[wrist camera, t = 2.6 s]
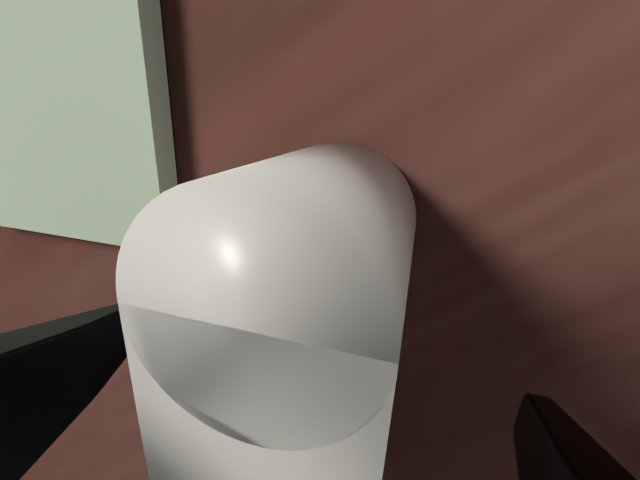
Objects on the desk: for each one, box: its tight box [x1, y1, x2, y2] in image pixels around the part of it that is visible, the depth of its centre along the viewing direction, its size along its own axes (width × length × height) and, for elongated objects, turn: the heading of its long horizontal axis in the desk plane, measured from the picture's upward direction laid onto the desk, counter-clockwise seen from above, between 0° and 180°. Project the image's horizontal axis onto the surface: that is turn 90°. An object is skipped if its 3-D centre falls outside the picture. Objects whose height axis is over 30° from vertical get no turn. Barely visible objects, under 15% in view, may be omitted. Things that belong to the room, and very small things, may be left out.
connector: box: [116, 141, 416, 480], centre depth 8 cm, size 11×4×6 cm, turn 178°
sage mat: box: [0, 0, 178, 246], centre depth 10 cm, size 12×8×1 cm, turn 178°
